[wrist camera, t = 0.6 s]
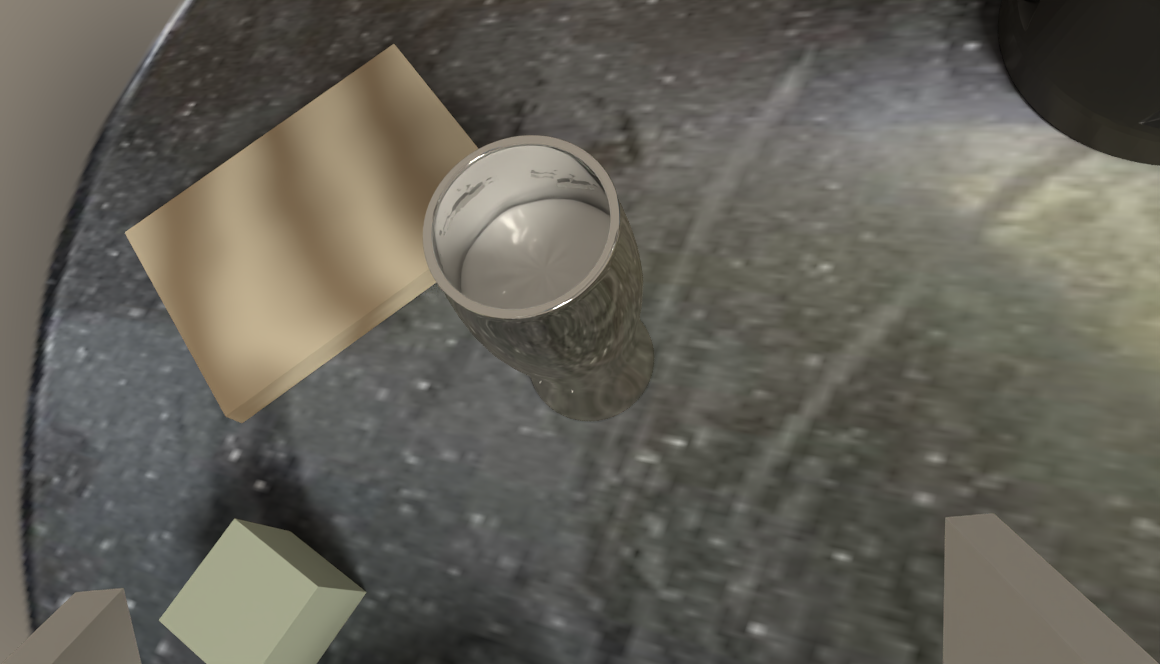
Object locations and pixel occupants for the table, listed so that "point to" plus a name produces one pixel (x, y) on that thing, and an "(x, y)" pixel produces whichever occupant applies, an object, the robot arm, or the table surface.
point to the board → (304, 233)
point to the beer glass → (544, 271)
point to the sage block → (262, 600)
